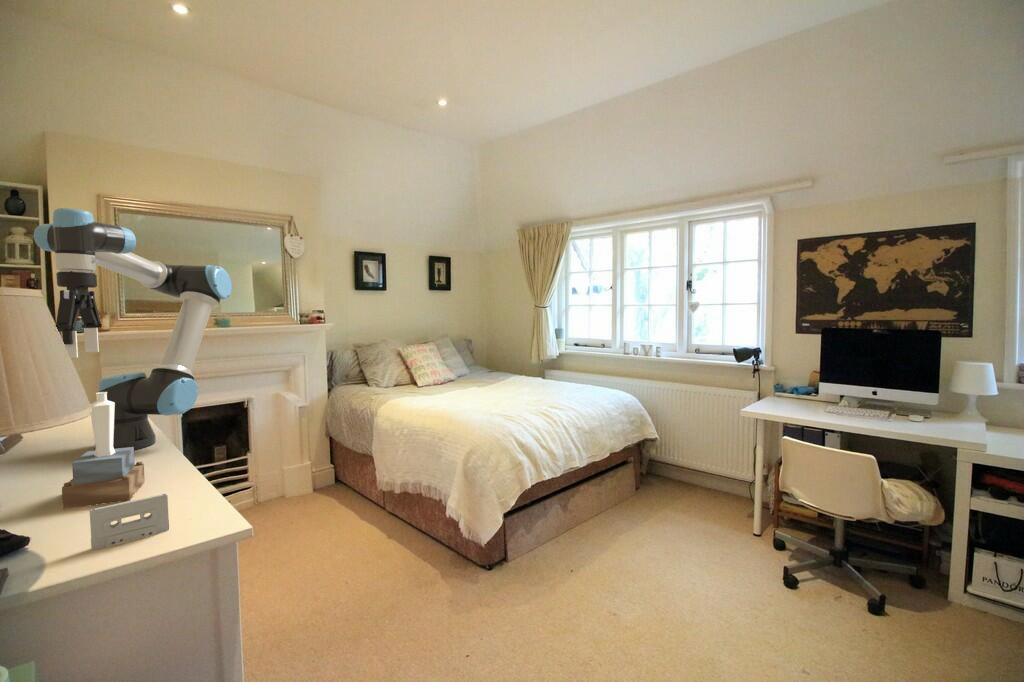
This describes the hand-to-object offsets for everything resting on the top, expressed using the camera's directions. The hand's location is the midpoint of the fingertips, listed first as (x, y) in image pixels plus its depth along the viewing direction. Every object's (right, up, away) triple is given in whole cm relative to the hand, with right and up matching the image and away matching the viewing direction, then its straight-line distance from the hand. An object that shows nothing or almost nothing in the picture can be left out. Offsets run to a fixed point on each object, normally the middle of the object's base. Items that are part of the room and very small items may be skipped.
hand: (81, 354), depth 121 cm
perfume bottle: (+13, -24, -8) cm, 29 cm away
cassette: (+36, -36, -28) cm, 58 cm away
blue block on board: (+13, -34, -8) cm, 37 cm away
